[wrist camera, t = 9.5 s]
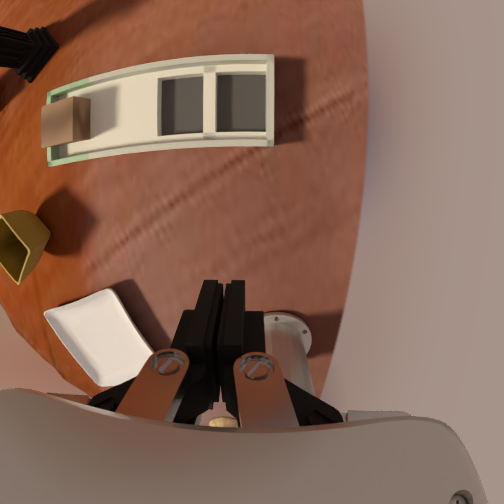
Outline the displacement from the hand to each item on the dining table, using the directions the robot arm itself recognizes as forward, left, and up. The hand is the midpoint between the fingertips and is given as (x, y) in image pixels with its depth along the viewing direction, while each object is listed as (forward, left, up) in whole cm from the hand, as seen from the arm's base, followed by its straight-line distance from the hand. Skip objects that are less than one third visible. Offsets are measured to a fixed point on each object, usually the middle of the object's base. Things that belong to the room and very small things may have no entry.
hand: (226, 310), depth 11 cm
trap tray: (+12, +13, -27) cm, 32 cm away
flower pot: (-5, +37, -27) cm, 46 cm away
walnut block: (+12, +24, -25) cm, 37 cm away
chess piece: (+28, +36, -27) cm, 53 cm away
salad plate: (-27, +27, -28) cm, 47 cm away
